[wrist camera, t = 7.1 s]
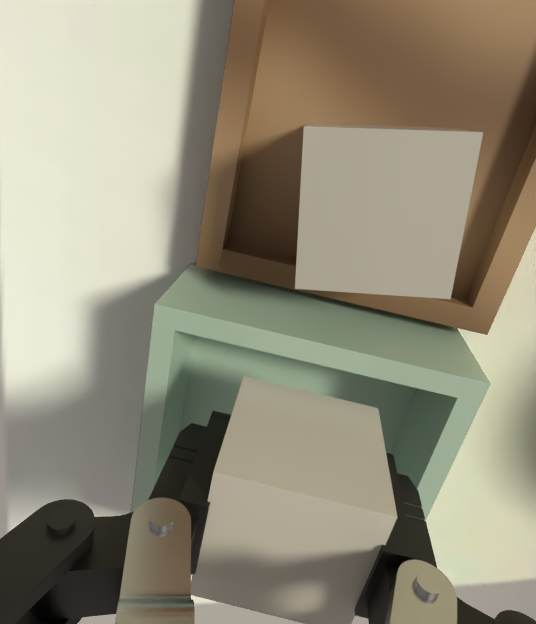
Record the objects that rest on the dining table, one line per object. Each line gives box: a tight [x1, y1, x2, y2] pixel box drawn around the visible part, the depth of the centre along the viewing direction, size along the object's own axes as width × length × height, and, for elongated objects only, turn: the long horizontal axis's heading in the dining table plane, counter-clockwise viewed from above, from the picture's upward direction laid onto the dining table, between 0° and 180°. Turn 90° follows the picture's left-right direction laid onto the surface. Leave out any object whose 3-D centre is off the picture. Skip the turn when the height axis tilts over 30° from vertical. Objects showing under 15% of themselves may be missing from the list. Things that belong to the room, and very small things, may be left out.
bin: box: [131, 264, 490, 620], centre depth 18 cm, size 11×10×4 cm
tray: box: [195, 0, 536, 335], centre depth 13 cm, size 15×10×2 cm, turn 168°
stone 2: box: [295, 123, 483, 299], centre depth 13 cm, size 4×4×4 cm
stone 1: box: [191, 376, 397, 624], centre depth 13 cm, size 4×4×4 cm
